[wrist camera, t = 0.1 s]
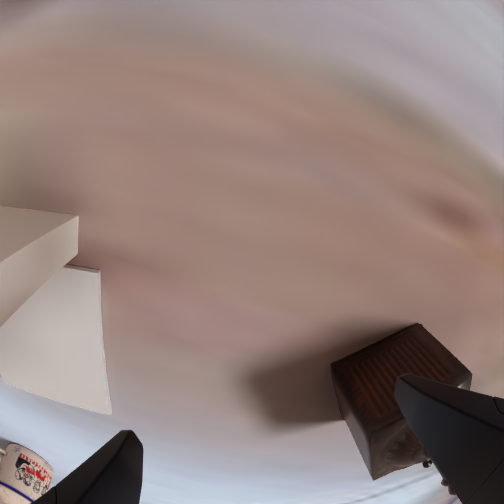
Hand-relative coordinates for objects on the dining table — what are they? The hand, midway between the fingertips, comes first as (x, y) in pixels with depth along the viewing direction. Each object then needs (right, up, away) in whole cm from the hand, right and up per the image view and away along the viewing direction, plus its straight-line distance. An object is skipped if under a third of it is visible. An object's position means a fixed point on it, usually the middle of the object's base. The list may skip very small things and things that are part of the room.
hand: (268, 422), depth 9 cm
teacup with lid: (-36, -26, +20) cm, 49 cm away
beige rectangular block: (-18, +7, +11) cm, 23 cm away
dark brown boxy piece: (+16, -7, +20) cm, 26 cm away
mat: (-20, -3, +14) cm, 25 cm away
